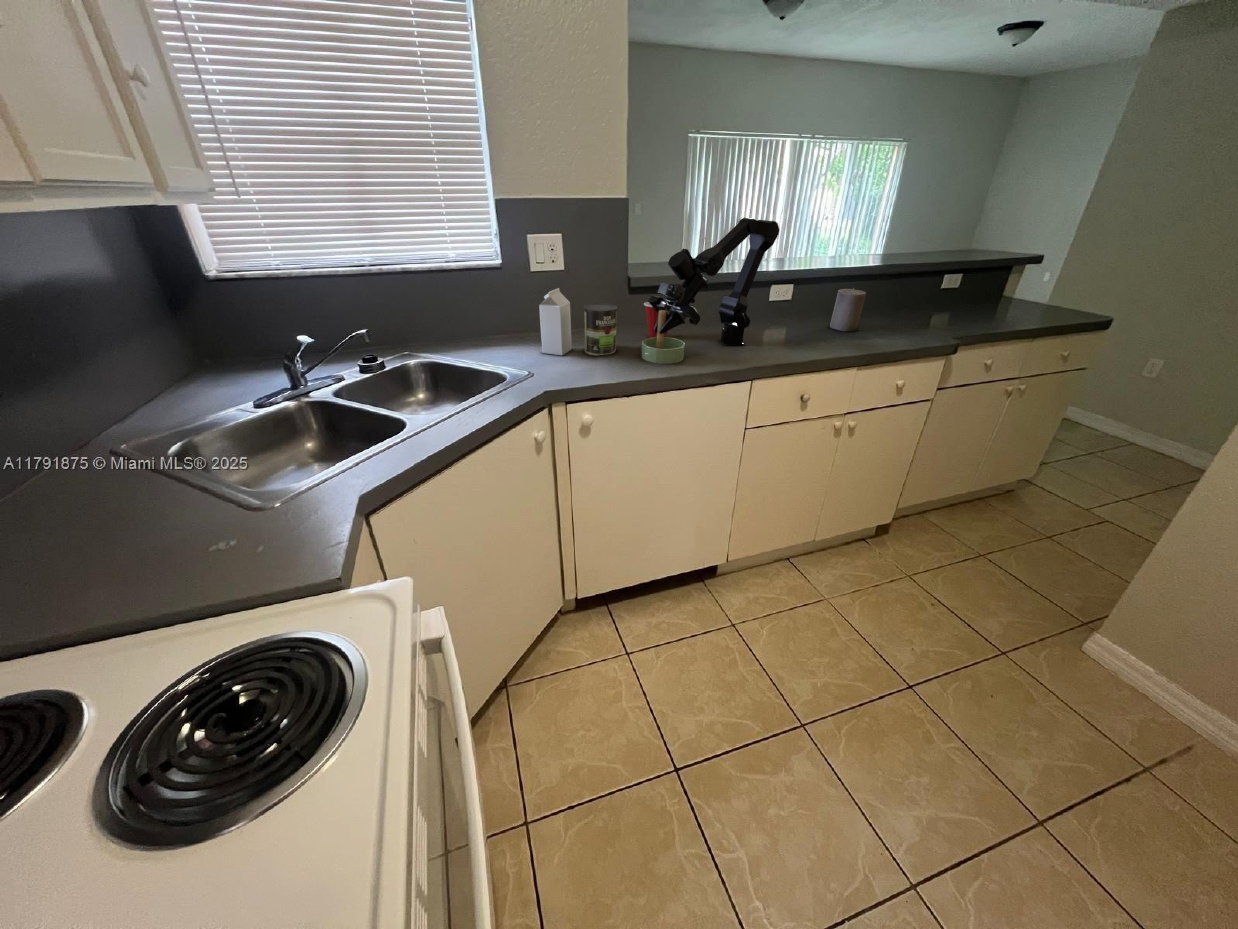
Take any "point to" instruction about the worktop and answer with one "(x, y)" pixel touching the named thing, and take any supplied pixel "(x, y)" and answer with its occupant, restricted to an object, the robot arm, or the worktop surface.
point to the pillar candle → (847, 309)
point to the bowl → (663, 350)
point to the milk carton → (555, 323)
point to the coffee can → (600, 328)
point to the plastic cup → (651, 319)
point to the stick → (660, 323)
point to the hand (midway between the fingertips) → (657, 332)
